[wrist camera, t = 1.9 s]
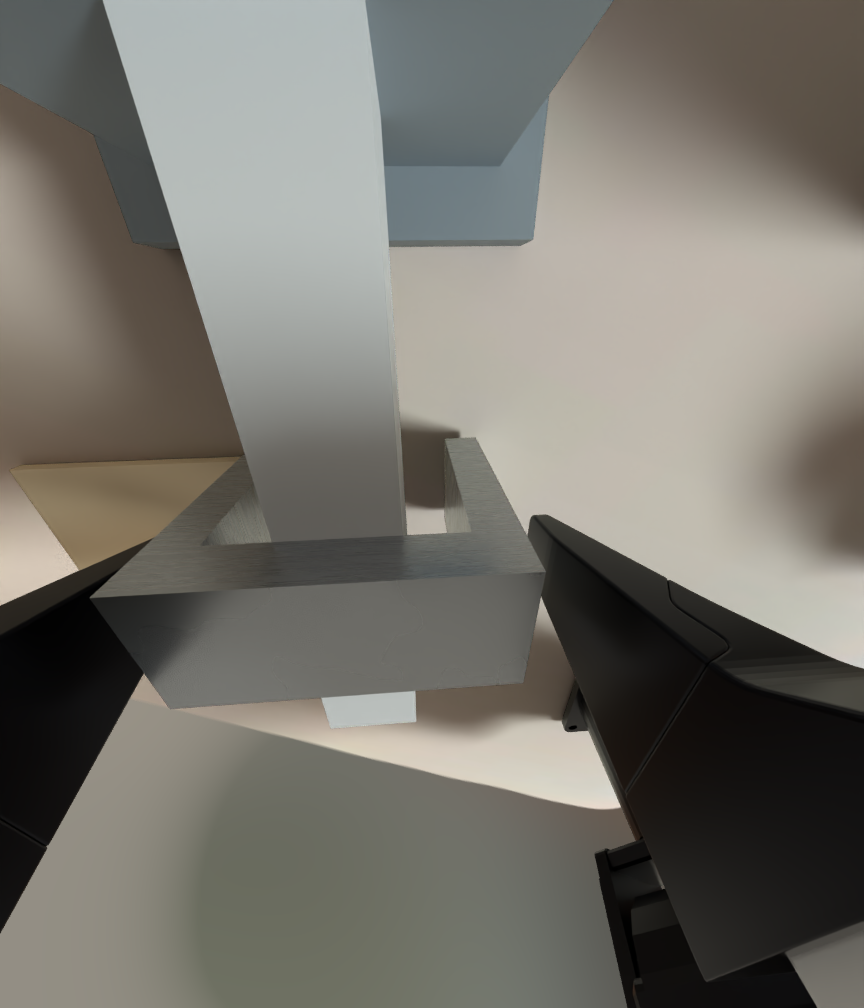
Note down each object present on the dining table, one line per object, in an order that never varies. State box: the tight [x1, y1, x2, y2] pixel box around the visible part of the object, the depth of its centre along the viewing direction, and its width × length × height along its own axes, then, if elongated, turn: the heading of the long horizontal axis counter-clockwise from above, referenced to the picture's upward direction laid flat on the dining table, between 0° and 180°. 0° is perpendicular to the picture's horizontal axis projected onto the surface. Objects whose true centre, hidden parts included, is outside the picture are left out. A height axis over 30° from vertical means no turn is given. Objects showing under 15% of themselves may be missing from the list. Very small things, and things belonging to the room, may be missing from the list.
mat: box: [9, 457, 240, 570], centre depth 13 cm, size 8×8×1 cm
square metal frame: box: [90, 438, 546, 709], centre depth 9 cm, size 3×7×6 cm, turn 91°
